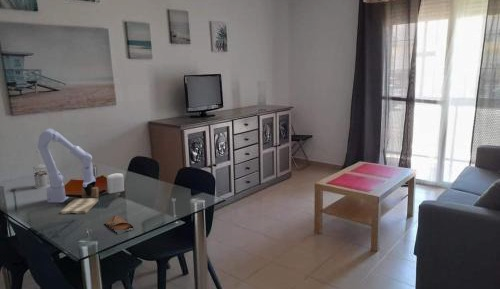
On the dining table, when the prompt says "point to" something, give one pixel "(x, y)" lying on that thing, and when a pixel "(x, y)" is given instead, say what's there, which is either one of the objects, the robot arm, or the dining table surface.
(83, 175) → the robot arm
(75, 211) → the board
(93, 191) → the block
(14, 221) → the dining table surface
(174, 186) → the dining table surface
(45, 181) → the french press
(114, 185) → the photo printer
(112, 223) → the sunglasses case
